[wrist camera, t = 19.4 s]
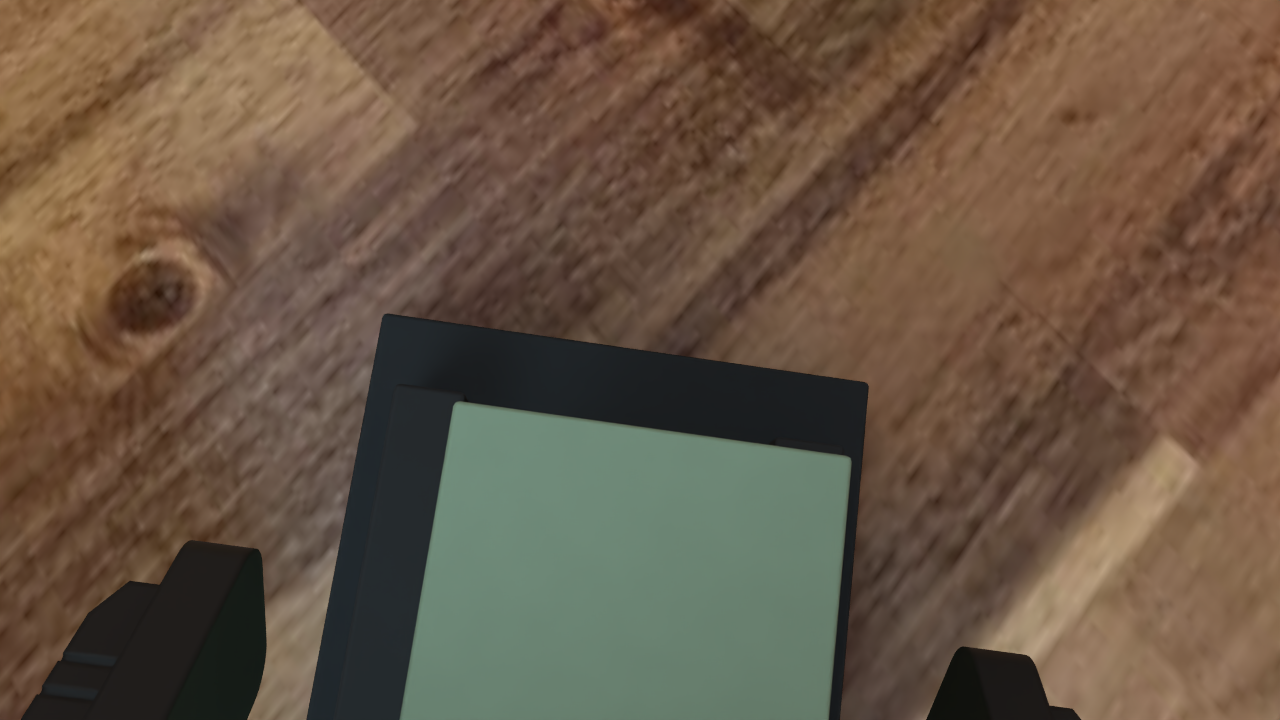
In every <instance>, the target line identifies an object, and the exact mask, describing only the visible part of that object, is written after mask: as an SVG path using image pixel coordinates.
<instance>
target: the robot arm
mask: <svg viewBox="0 0 1280 720" xmlns="http://www.w3.org/2000/svg"><path fill="white" fill-rule="evenodd" d="M265 658H266V623H265V604H264V585H263V567H262V557H261V553H260V551H259V550H258V549H254V548H246V547H239V546H231V545H224V544H217V543H209V542H202V541H194V540H190V541H188V542H187V543H185V544H184V546H183V547H182V548H181V550H180V551H179V553H178V555H177V556H176V558H175V560H174V561H173V563H172V565H171V567H170V568H169V570H168V572H167V574H166V575H165V577H164V579H163V580H162V582H161V584H160V585H157V584H149V583H142V582H134V581H129V582H128V583H126V584H125V585H124V586H123V587H121V588H120V589H119V590H117V591H116V592H115V593H114V594H112V595H111V596H110V597H108V598H107V599H106V600H105V601H103V602H102V603H101V604H99V605H98V606H97V607H96V608H94V609H93V610H92V611H90V612H89V613H88V615H87V616H86V618H85V619H84V621H83V622H82V624H81V626H80V627H79V629H78V630H77V632H76V633H75V635H74V637H73V638H72V640H71V641H70V643H69V644H68V646H67V648H66V649H65V651H64V652H63V658H62V660H61V661H58V662H57V663H56V665H55V667H54V668H53V670H52V671H51V673H50V674H49V676H48V678H47V679H46V681H45V682H44V684H43V685H42V691H41V693H40V695H38V694H37V695H36V696H35V698H34V700H33V701H32V703H31V704H30V706H29V707H28V709H27V711H26V712H25V714H24V715H23V717H22V718H21V720H247V718H248V716H249V713H250V711H251V709H252V706H253V704H254V701H255V699H256V696H257V693H258V690H259V687H260V683H261V679H262V675H263V670H264V665H265ZM926 720H1081V719H1080V718H1079V716H1078V715H1077V714H1076V713H1075V711H1074V710H1073V709H1070V708H1063V707H1055V706H1049V703H1048V700H1047V697H1046V694H1045V691H1044V688H1043V686H1042V683H1041V680H1040V677H1039V674H1038V671H1037V668H1036V666H1035V664H1034V662H1033V660H1032V659H1031V658H1030V657H1029V656H1027V655H1022V654H1015V653H1008V652H1000V651H993V650H985V649H978V648H970V647H960V648H959V649H958V650H957V651H956V652H955V654H954V656H953V658H952V660H951V662H950V665H949V667H948V670H947V672H946V674H945V677H944V679H943V681H942V684H941V686H940V689H939V691H938V693H937V696H936V698H935V700H934V703H933V705H932V707H931V710H930V712H929V715H928V717H927V719H926Z"/></svg>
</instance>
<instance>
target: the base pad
mask: <svg viewBox="0 0 1280 720" xmlns="http://www.w3.org/2000/svg"><path fill="white" fill-rule="evenodd" d="M868 389H869V386H868V384H867V383H865V382H860V381H853V380H846V379H839V378H832V377H825V376H818V375H811V374H804V373H797V372H790V371H783V370H776V369H770V368H763V367H756V366H749V365H742V364H735V363H728V362H721V361H714V360H707V359H700V358H693V357H686V356H679V355H672V354H665V353H658V352H651V351H644V350H637V349H630V348H623V347H616V346H610V345H603V344H596V343H589V342H582V341H575V340H568V339H561V338H554V337H547V336H540V335H533V334H526V333H519V332H512V331H505V330H498V329H491V328H484V327H477V326H470V325H463V324H456V323H450V322H443V321H436V320H429V319H422V318H415V317H408V316H401V315H394V314H384V316H383V317H382V322H381V328H380V333H379V338H378V344H377V349H376V354H375V360H374V365H373V370H372V375H371V381H370V386H369V391H368V397H367V402H366V407H365V413H364V418H363V423H362V428H361V434H360V439H359V444H358V450H357V455H356V460H355V466H354V471H353V476H352V481H351V487H350V492H349V497H348V503H347V508H346V513H345V519H344V524H343V529H342V534H341V540H340V545H339V550H338V556H337V561H336V566H335V571H334V577H333V582H332V587H331V593H330V598H329V603H328V609H327V614H326V619H325V624H324V630H323V635H322V640H321V646H320V651H319V656H318V662H317V667H316V672H315V677H314V683H313V688H312V693H311V699H310V704H309V709H308V715H307V720H400V714H401V708H402V703H403V697H404V691H405V685H406V679H407V673H408V668H409V662H410V656H411V650H412V644H413V638H414V632H415V627H416V621H417V615H418V609H419V603H420V597H421V592H422V586H423V580H424V574H425V568H426V562H427V557H428V551H429V545H430V539H431V533H432V527H433V521H434V516H435V510H436V504H437V498H438V492H439V486H440V481H441V475H442V469H443V463H444V457H445V451H446V446H447V440H448V434H449V428H450V422H451V416H452V410H453V406H454V404H455V403H456V402H459V401H461V402H468V403H476V404H483V405H490V406H497V407H504V408H511V409H518V410H525V411H532V412H539V413H546V414H553V415H561V416H568V417H575V418H582V419H589V420H596V421H603V422H610V423H617V424H624V425H631V426H638V427H646V428H653V429H660V430H667V431H674V432H681V433H688V434H695V435H702V436H709V437H716V438H723V439H730V440H738V441H745V442H752V443H759V444H766V445H773V446H780V447H787V448H794V449H801V450H808V451H815V452H823V453H830V454H837V455H844V456H848V457H849V458H851V462H852V464H851V476H850V487H849V498H848V509H847V520H846V532H845V543H844V554H843V565H842V577H841V588H840V599H839V610H838V621H837V633H836V644H835V655H834V666H833V678H832V689H831V700H830V711H829V720H840V711H841V700H842V688H843V677H844V665H845V654H846V642H847V631H848V619H849V608H850V596H851V585H852V573H853V562H854V550H855V539H856V527H857V516H858V504H859V493H860V481H861V469H862V458H863V446H864V435H865V423H866V412H867V400H868Z"/></svg>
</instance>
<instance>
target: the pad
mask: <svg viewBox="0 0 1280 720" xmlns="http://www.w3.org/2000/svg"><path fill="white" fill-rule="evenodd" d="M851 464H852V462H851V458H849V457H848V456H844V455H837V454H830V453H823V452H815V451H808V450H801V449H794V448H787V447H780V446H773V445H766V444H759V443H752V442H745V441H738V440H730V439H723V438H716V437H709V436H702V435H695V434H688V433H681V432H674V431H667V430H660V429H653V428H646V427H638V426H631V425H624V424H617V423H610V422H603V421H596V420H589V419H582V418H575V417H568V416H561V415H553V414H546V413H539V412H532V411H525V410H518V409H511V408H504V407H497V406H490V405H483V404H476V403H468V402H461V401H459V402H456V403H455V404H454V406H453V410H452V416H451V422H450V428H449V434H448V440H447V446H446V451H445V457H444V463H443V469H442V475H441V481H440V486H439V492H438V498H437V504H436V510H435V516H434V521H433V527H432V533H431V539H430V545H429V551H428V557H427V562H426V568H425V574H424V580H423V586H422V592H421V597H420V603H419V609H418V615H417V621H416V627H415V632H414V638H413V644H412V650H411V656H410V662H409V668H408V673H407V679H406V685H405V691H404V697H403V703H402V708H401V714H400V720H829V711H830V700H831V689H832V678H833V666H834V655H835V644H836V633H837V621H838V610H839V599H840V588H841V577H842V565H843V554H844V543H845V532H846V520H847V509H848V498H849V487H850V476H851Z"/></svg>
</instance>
